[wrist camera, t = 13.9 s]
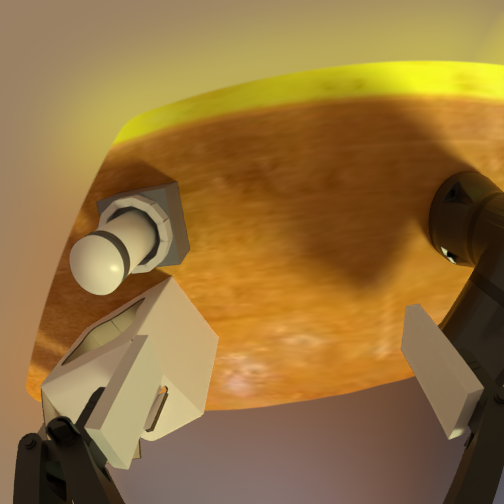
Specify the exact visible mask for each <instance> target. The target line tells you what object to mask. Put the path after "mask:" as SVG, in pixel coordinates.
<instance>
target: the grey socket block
mask: <svg viewBox="0 0 504 504" xmlns="http://www.w3.org/2000/svg"><path fill="white" fill-rule="evenodd" d="M96 203H97V207H98V212H99V216H100V221H99V225H98V228H100V227H102V226H103V225H105V224H107V223H108V222H110V221H112V220H113V219H115V218H117V217H118V216H120V215H122V214H124V213H125V212H127V211H130V210H142V211H144V212H146V213H148V214H149V216H150V217H151V218H152V219H153V220H154V222H155V223H156V224H157V227H158V232H159V236H158V241H157V244H156V245H155V247H154V248H153V249H152V250H151V251H150V252H149V253H148V254H147V255H146V257H145V258H144V259H143V260H142V261H141V262H140V263H139V264H138V265H137V266H136V267H135V268H134V269H133V270H132V271H131V273H132V274H134V273H143V272H149V271H151V270H152V269H153V268H154V267H162V266H170V265H179V264H181V263H182V261H183V260H184V258H185V256H186V255H187V253H188V252H189V250H190V246H189V241H188V236H187V231H186V226H185V221H184V215H183V210H182V205H181V199H180V194H179V188H178V182H173V183H167V184H162V185H157V186H151V187H146V188H141V189H136V190H131V191H126V192H122V193H117V194H114V195H111V196H109V197H106V198H104V199H102V200H99V201H97V202H96Z"/></svg>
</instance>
